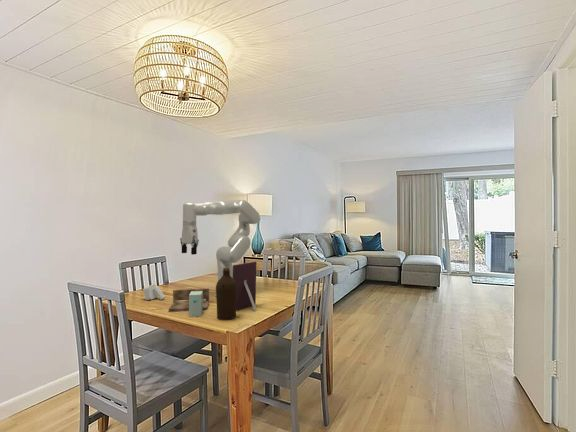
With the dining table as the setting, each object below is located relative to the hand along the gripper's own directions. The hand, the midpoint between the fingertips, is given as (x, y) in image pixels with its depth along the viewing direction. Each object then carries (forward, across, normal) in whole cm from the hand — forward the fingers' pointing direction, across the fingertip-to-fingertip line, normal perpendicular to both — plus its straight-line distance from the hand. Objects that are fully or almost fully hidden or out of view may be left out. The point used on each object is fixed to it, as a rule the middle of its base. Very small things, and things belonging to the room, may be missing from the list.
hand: (188, 253), depth 185 cm
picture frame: (+29, -34, -16) cm, 48 cm away
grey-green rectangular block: (+30, -18, +7) cm, 35 cm away
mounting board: (+30, -5, +2) cm, 30 cm away
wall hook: (+30, +26, +6) cm, 40 cm away
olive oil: (+30, -34, 0) cm, 45 cm away
